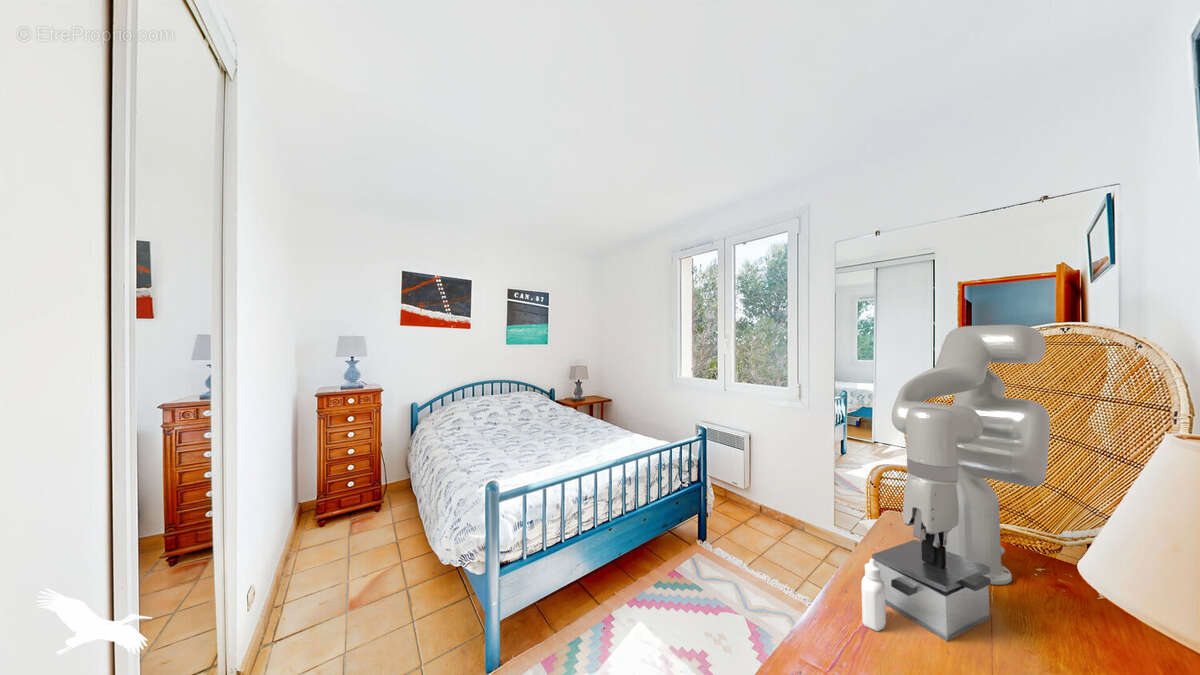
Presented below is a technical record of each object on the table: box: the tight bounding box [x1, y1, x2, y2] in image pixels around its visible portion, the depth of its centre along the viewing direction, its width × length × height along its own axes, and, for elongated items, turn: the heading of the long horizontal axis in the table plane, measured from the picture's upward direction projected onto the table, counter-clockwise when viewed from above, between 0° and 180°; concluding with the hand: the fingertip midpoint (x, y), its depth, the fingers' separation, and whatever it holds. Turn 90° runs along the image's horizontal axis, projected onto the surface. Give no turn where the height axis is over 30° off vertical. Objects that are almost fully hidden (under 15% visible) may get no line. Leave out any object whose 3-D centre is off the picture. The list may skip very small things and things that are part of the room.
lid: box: [871, 539, 992, 592], centre depth 73 cm, size 15×15×1 cm
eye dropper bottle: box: [860, 557, 887, 632], centre depth 71 cm, size 4×6×12 cm
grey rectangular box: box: [875, 561, 991, 642], centre depth 74 cm, size 19×12×8 cm, turn 111°
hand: (933, 563), depth 73 cm, fingers closed
